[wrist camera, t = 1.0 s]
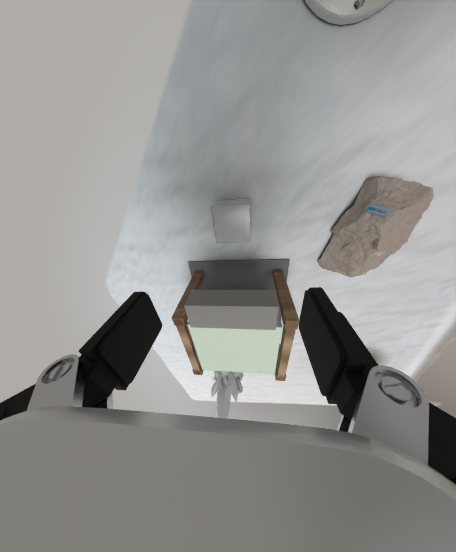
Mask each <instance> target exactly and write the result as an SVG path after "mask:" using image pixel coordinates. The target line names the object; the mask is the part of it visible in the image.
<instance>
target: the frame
mask: <svg viewBox="0 0 456 552" xmlns="http://www.w3.org/2000/svg"><path fill="white" fill-rule="evenodd" d="M204 278H205V276H204V271H195V273H194V275H193V277H192V279H191V281H190V283H189V285H188V287H187V289H186V290H185V292H184V294H183V296H182V298H181V300H180V302H179V304H178V306H177V308H176V310H175V312H174V314H173V316H172V320H173V322H174V325H176V327H177V329H178V332H179V334H180V337H181V339H182V342H183V345H184V347H185V350H186V352H187V355H188V357H189V360H190V362H191V365H192V367H193V372H194V374H196V375H202V374H203V370H202V367H201V364H200V361H199V358H198V355H197V352H196V349H195V346H194V343H193V340H192V337H191V334H190V331H189V328H188V325H187V324H188V322H187V320H188V316H187V313H186V310H185V307H184V305H185V303H186V300H187V298H188V296H189V294H190V292H191V290H200V288H201V285H202V283H203V280H204ZM273 280H274V285H275V289H276V293H277V298H278V302H279V307H280V311H281V316H282V320H283V324H284V327H283V333H282V339H281V345H280V344H279V350H278V357H277V363H276V370H275V378H276V380H279V381H285V379H286V369H287V365H288V360H289V356H290V352H291V347H292V343H293V339H294V334H295V330H296V329H297V328H298V324H299V318H298V315H297V312H296V309H295V307H294V304H293V301H292V298H291V295H290V292H289V289H288V286H287V283H286V280H285V277H284V274H283V271H282V269H273Z"/></svg>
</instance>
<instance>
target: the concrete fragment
mask: <svg viewBox="0 0 456 552" xmlns="http://www.w3.org/2000/svg"><path fill="white" fill-rule="evenodd" d="M433 196H434V194H433V189H432V188H430V187H427V186H423V185H422V184H420V183H417V182H414V181H413V182H408V181H403V180H402V179H400V178H389V177H381V176H378V177H374V178H372V179H368V180H366V181H365V182H364V184H363V186H362V188H361V190H360V192H359V194H358V196H357V199H356V201H355V203H354V205H353V206H352V207H351V208H349V209H348V210H347V211H346V212H345V214H344V215H342V216H341V218H340V220H339V221H338V223H337V224H336V225H335V226H334V227H333V230H332V233H333V236H332V238H331V240H330V242H329V244H328V246H327V247H326V249H325V251H324V253H323V255H322V257H321V258H320V259H319V260H318V263H319V265H320V266H321V267H322V268H323V269H327V270H331V271H333V272H338V273H341V274H343V275H347V276H349V277H354V276H359V275H364V274H366V273H367V272H368V271H369V270H371V269H375V268H377V267H378V266H379V265H380V264H381V263H383V262H384V260H385V259H386V258H388V256H389V255H391V254H394V253H395V252H396V251H397V250H399V249H400V248H401V246H402V245H403V244H404V243H406V242H407V241H408V237H409V236H410V234H411V232H412V231H413V229H414V227H415V225H416V224H417V223H418V222H419V220H420V219H421V218H422V214H423V212H424V211H426V210H427V208H428V207H429V205H430V202H431V201H432V199H433Z"/></svg>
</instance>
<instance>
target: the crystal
mask: <svg viewBox="0 0 456 552" xmlns="http://www.w3.org/2000/svg"><path fill="white" fill-rule="evenodd" d="M214 373H215V376H216V378H217V380H216V382H215V383H214V385H213V387H212V397H213V396H214V395H215V393H216V392H217V394H218V397H217V403H218V405H217V410H218V416H219V418H224V419H227V416H228V413H229V408H230V397H231V394H232V396H233V397H234V399H235V400H236V402H237V396H238V393H241V392H242V389H243V386H242V385H241V382H240V381H241V380H242V378H243V374H242V372H230V371H214Z"/></svg>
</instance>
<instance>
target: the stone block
mask: <svg viewBox="0 0 456 552" xmlns="http://www.w3.org/2000/svg"><path fill="white" fill-rule="evenodd" d="M211 209H212V216H213V224H214V231H215V239H216V243H233V242H250V198H245V199H232V200H219V201H216V202H215V204H214V205H213V206H212V207H211Z"/></svg>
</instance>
